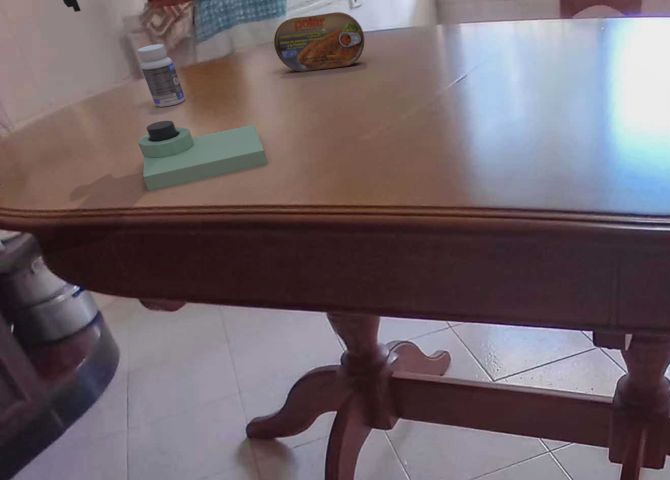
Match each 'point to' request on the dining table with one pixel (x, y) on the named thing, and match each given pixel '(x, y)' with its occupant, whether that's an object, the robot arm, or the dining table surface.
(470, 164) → the dining table surface
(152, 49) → the pill bottle
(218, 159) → the scale
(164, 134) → the button
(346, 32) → the tin
